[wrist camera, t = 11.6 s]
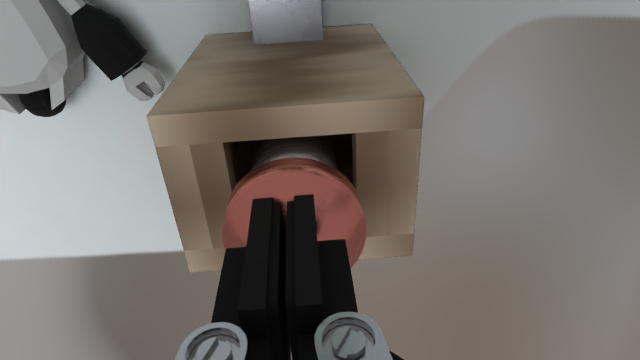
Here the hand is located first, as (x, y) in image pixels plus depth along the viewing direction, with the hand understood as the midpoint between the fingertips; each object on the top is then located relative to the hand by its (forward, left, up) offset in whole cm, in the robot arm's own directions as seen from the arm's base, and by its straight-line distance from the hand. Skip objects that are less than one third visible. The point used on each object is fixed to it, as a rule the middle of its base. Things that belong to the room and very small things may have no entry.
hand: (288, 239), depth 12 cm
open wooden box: (0, 0, -12) cm, 12 cm away
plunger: (0, 0, -6) cm, 6 cm away
